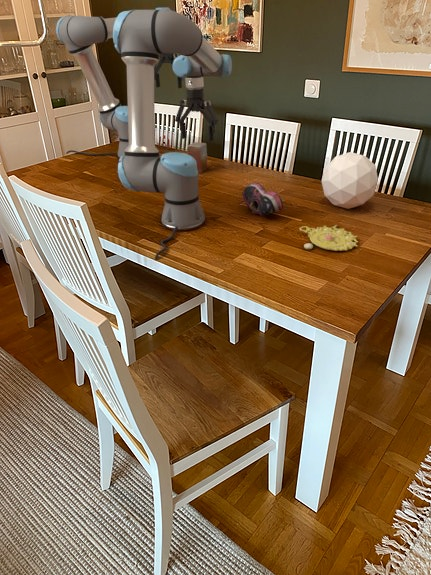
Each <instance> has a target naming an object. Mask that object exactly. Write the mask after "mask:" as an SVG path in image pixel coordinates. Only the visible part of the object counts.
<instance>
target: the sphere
mask: <svg viewBox="0 0 431 575" xmlns="http://www.w3.org/2000/svg"><path fill="white" fill-rule="evenodd" d="M378 181H379V178H378V172H377V166H376V164H375V163H373V161H372V160H370V159H369V158H368V157H367V156H366V155H364V154H360V153H356V152H352V151H349V152H345V153H342V154H340V155H336V156H335V157H333V159H332V160H331V161H330V162H329V163H328V164H327V165H326V166H325V168H324V170H323V174H322V178H321V181H320V182H321V185H322V186H321V187H322V191H323V195H324V196H325V198H327V200H329V202H330V203H331V204H332V205H333V206H336V207H340V208H343V209H347V210H349V209H352V208H353V209H354V208H356V207H359V206H363V205H364V204H365V203H366V202H367V201H369V200H370V199H371V198H372V197H373V196H374V195H375V192H376V188H377V184H378Z"/></svg>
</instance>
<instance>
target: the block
mask: <svg viewBox="0 0 431 575" xmlns="http://www.w3.org/2000/svg"><path fill="white" fill-rule="evenodd" d="M207 146H208V145H207V143H206V142H197V141H194V142H192V143H190V144H188V145H187V154H188V155H190V156H192V157H193V158H194V159H195V160H196V163H197V170H198V174H202V173H204V172H205V171H207V170H208V149H207V148H208V147H207Z"/></svg>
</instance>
